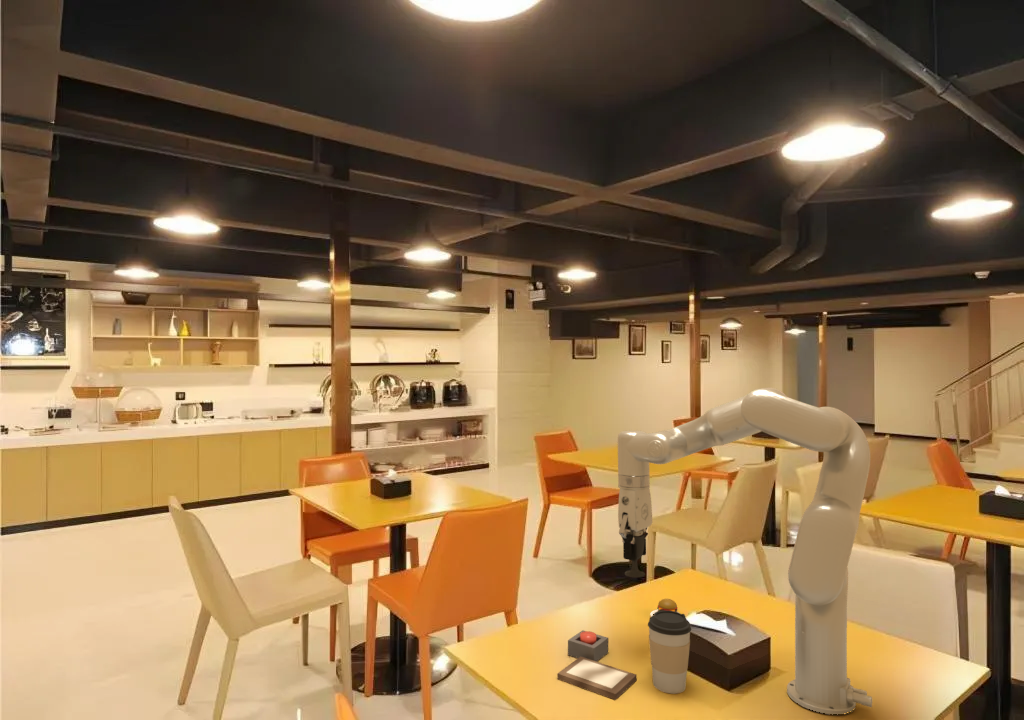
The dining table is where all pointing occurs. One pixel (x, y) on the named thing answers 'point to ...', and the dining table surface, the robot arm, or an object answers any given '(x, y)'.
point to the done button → (588, 637)
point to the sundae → (640, 548)
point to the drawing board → (597, 677)
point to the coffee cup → (669, 650)
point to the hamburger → (665, 606)
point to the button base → (588, 647)
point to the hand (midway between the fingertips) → (634, 556)
